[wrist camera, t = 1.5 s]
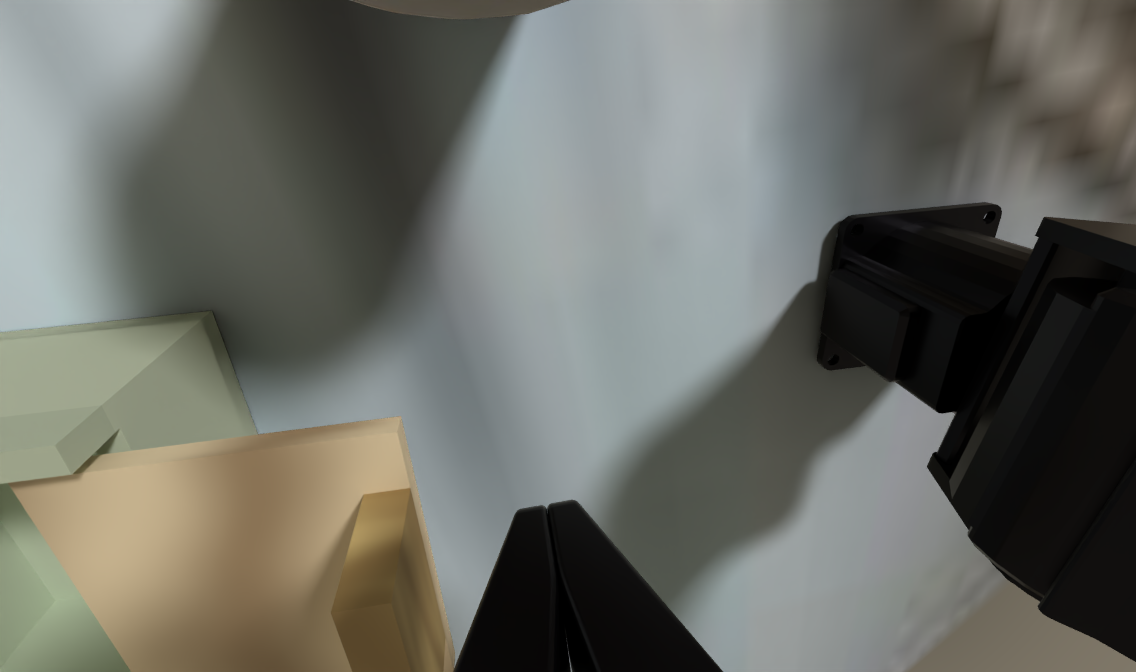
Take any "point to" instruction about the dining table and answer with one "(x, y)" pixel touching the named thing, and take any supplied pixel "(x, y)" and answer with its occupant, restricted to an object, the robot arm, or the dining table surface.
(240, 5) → the dining table surface
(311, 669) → the lid
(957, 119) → the dining table surface
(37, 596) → the box
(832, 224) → the dining table surface
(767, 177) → the dining table surface
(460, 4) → the disposable coffee cup
